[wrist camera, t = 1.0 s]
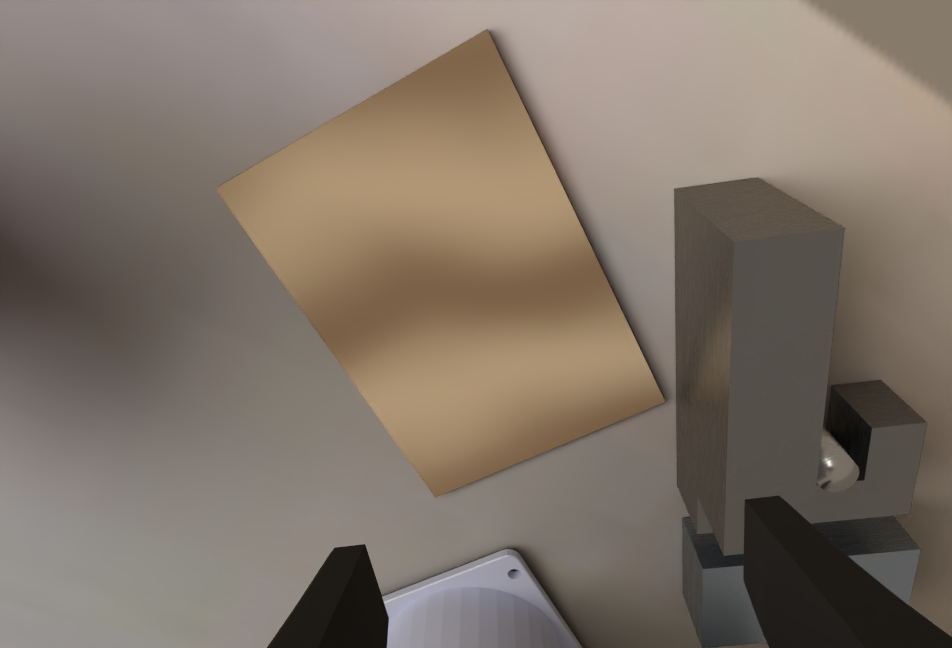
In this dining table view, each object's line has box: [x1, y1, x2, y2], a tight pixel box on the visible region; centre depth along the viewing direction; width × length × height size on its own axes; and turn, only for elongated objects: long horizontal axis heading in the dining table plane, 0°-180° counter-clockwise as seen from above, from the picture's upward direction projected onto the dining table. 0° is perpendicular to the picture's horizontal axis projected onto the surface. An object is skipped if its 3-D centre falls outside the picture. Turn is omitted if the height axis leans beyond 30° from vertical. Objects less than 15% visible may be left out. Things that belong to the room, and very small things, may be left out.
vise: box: [682, 425, 921, 648], centre depth 22 cm, size 9×7×4 cm
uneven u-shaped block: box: [674, 178, 927, 556], centre depth 19 cm, size 11×7×5 cm, turn 8°
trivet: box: [216, 29, 665, 497], centre depth 20 cm, size 13×9×1 cm
